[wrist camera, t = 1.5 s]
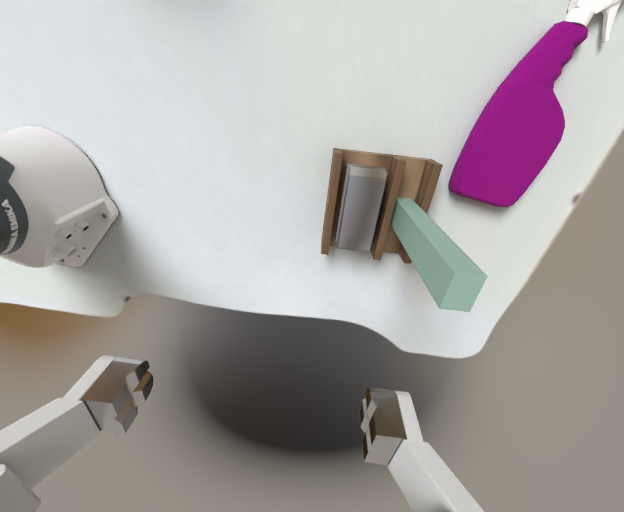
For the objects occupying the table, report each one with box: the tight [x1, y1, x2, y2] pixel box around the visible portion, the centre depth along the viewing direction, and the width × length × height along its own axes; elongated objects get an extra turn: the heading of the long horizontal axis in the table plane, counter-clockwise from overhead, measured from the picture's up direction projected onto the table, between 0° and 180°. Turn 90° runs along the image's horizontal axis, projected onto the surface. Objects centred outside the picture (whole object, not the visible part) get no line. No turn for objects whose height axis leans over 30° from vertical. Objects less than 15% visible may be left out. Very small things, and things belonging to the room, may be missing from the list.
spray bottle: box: [449, 0, 622, 207], centre depth 32 cm, size 3×11×25 cm
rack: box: [321, 148, 443, 263], centre depth 38 cm, size 14×14×4 cm
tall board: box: [390, 197, 487, 312], centre depth 30 cm, size 2×4×20 cm
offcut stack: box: [335, 163, 387, 251], centre depth 36 cm, size 5×11×4 cm, turn 174°
